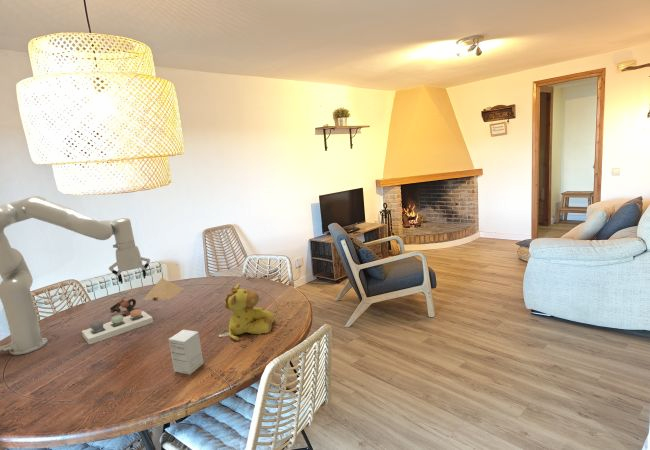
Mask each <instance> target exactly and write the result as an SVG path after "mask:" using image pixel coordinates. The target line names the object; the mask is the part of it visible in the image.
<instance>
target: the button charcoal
mask: <svg viewBox="0 0 650 450" xmlns="http://www.w3.org/2000/svg"><path fill="white" fill-rule="evenodd" d="M103 324H104V322H103V321H101V320H99V321H94V322H92V323H90V324H89V326H90V328H91V330H94V333H99V332H102V327H103Z"/></svg>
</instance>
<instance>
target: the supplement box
mask: <svg viewBox="0 0 650 450" xmlns="http://www.w3.org/2000/svg"><path fill="white" fill-rule="evenodd" d="M168 344H169V350H170V355H171V356H170V357H171V362H172V367H173V371H174V372H175V373H178V374H185V375H188V376H189V375H192V374H193V373H194V372H195V371H196V370H197V369H199V368H200V367H202V365H203V364H204V357H203V353H202V345H201V340H200V333H199V331H195V330H187V329H182V330H180V331H179V332H177V333H176V334H174V335H173V336H171V337H169V338H168Z"/></svg>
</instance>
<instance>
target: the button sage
mask: <svg viewBox="0 0 650 450" xmlns="http://www.w3.org/2000/svg"><path fill="white" fill-rule="evenodd" d="M123 317H124V316H123V314H117V315H116V314H115V315H114V316H111V317H110V322H112V323H114V326H115V327H117V326H120V325H122V320H123Z"/></svg>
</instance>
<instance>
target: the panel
mask: <svg viewBox="0 0 650 450" xmlns="http://www.w3.org/2000/svg"><path fill="white" fill-rule="evenodd" d="M141 313H142V314H141V315H140V317H141V318H140V319H138V320H133V317H131V315H128V316H126V315H125V316H123V320H122V325H120V326H117V327H115V326H114V323H112V322H111V321H108V322H106V323H103V327H102V332H99V333H94V330H91V327H90V328H87V329H84V330H81V333H82V337H83V338H84V340H85V342H86V343H87V344H88V345H90V346H91V345H93V344H96V343H98V342H102V341H104V340H106V339H109V338H113V337H115V336H119V335H121V334H123V333H124V334H125V333H126V332H130V331H133V330H136V329H138V328H142V327H145V326H147V325H150V324H153V323H154V319H153V317H152V315H150V314H148V313H147V312H146V311H144V310H141Z"/></svg>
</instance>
